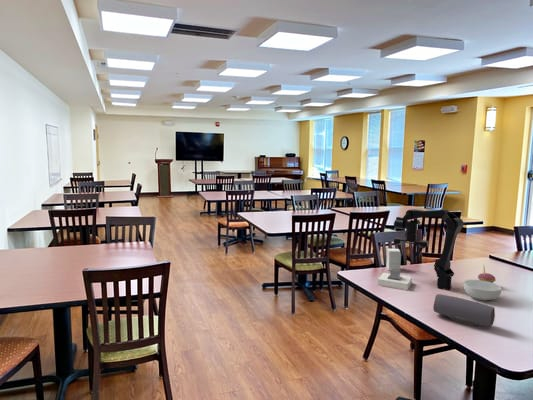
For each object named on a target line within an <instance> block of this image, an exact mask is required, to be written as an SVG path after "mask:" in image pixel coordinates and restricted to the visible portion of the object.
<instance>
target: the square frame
mask: <svg viewBox="0 0 533 400" xmlns="http://www.w3.org/2000/svg"><path fill="white" fill-rule="evenodd" d="M412 283H413V276H408V275H401V274H400V281H398V280H392V279H390V272H389V273H388V272H382V274H381V275H380V276H379V277H378V278H377V286H381V287H387V288H392V289H397V290H398V289H399V290H403V291H404V290H405V291H408V290H409V288H410V286H411V285H412Z"/></svg>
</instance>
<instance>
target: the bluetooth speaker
mask: <svg viewBox="0 0 533 400" xmlns="http://www.w3.org/2000/svg"><path fill="white" fill-rule="evenodd" d="M432 307H433V312H434V313H437V314H440V315H443V316H445V317H449V319H450V320H451V321H452V320H453V321H456V322H459V323H462V324H465V325H470V326H476V325H478V326H483V327H488V328H489V327H490V328H492V326H493V324H494V323H495V318H496V313H495V312H496V311H495V307H494V306H491V305H488V304H484V303H481V302H478V301H475V300H469V299H466V298H461V297H458V296H457V297H456V296H451V295H448V294H447V295H446V294H439V293H437V294H436V295H435V297H434V302H433V306H432Z"/></svg>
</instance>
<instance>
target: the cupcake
mask: <svg viewBox="0 0 533 400" xmlns="http://www.w3.org/2000/svg"><path fill="white" fill-rule="evenodd" d="M482 266H483V273H480V274H478V275H477V280H482V281H487V282H491V283H494V282H496V277H495V276H494V275H493V274H491V273H487V272H486V268H485V265H484V264H483V265H482Z"/></svg>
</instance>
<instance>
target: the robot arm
mask: <svg viewBox="0 0 533 400" xmlns="http://www.w3.org/2000/svg"><path fill="white" fill-rule="evenodd" d="M432 217H433V218H434V217H435V218H436V217H437V218H438V217H440V218H441V219H442V220H443V222H444V223H445V224H446V230H447V231H446V233H447V234H446V237H445V241H444V245H443V247H442V252H441V255H440V257H439V258H436V259H435V261H434V264H433V268H434V269H433V270H434V271H435V273H436V277H437V282H436V286H437V289H440V290H446V291H447V290H448V291H451V290H452V277H454V275H455V272H454V270H452V268H451V255H452V253H453V250H454V246H455V243H456V240H457V237H458V235H459V233H460V232H461V231H462V228H463V227H464V225H465V223H464V221H463V219H462V218H460V217H458V216H457V215H455V214H454V213H452V212H451V211H449V210H448V209H447V208H443V209H430V210H429V209H427V210H423V209H417V208H413V209H411V208H410V209H407V211H406V212H405V215H403V217H401V216H396V219H395V220H394V222H393V227H394V228H395V229H401V230H405V229H406V231H405V234H404V238H405V239H403V238H402V237H395V238H394V239H393V244H395V246H397V249H399V250H400V253H401V256H403V252H404V251H403V245H404V244H410V245H418V246H419V247H418V253H417V258H418V259H419V258H420V255H421V253H422V251H423V249H425V248H428V247H429V240H421V239H420V241H418V235H417V234H418V233H417V232H418V225H420V224H422V222H421V221H420V220H419V219H420V218H432Z"/></svg>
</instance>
